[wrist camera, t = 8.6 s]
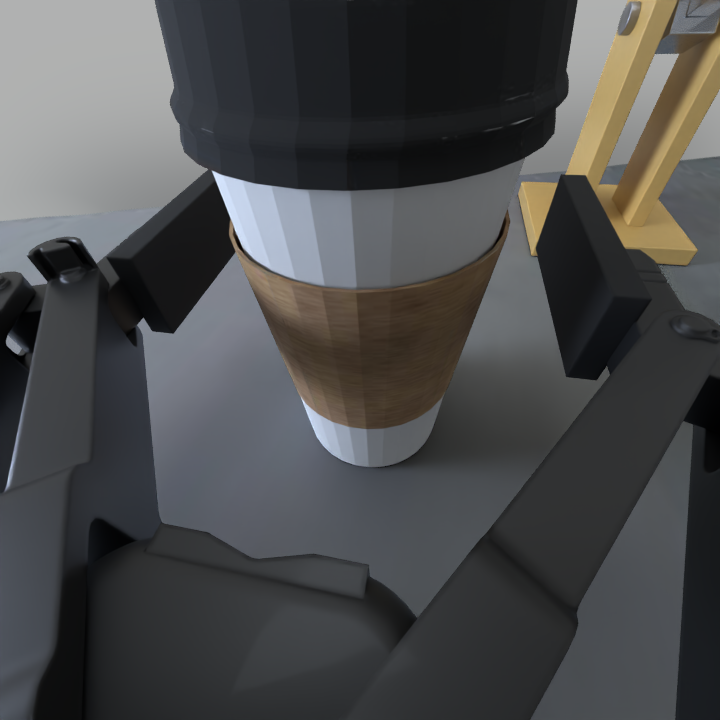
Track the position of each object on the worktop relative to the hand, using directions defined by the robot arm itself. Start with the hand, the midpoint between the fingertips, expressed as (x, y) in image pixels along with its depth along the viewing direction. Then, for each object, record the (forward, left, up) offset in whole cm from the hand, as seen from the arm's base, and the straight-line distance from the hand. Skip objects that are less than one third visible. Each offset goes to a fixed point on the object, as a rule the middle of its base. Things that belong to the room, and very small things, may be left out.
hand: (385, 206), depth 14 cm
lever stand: (-14, -16, -9) cm, 23 cm away
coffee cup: (0, +4, -9) cm, 9 cm away
